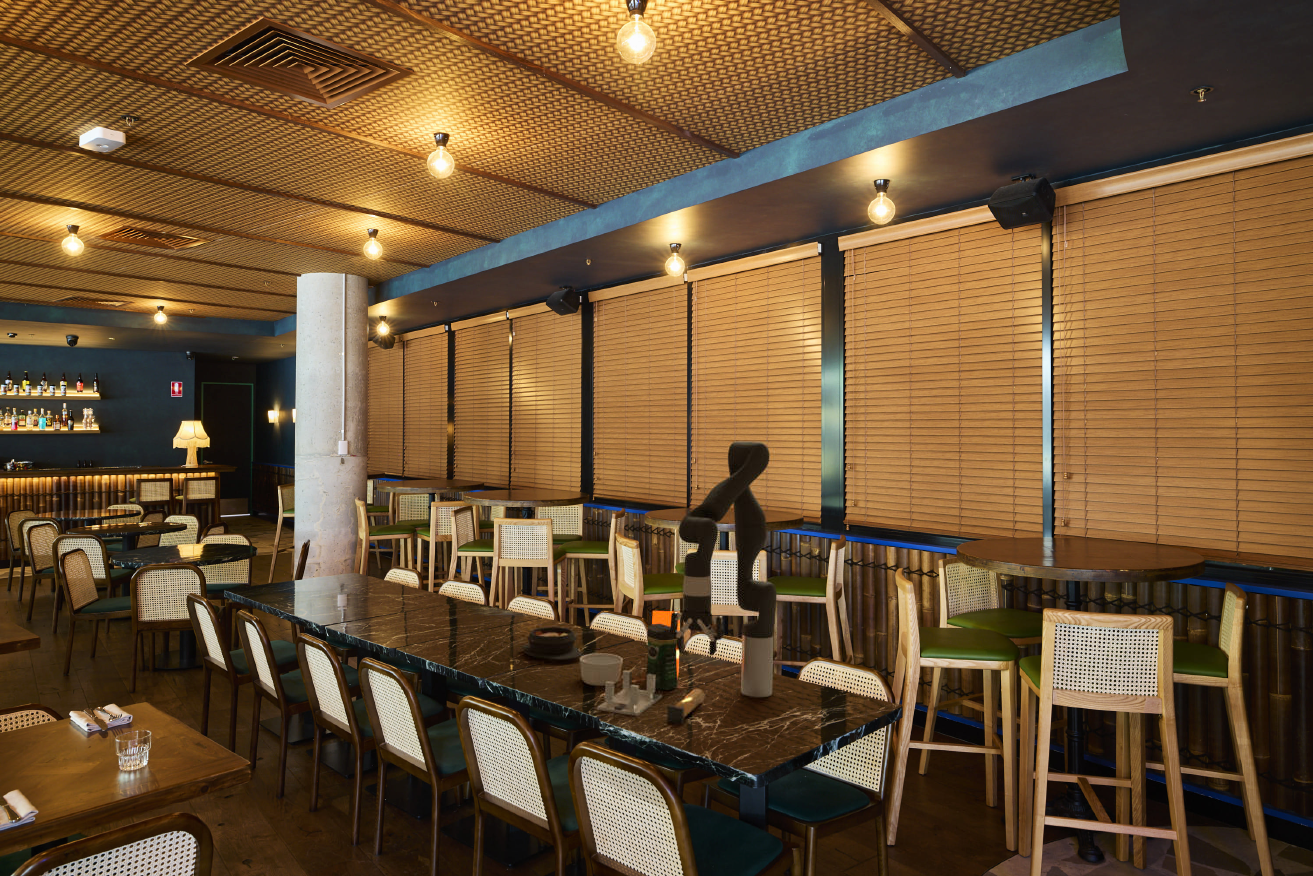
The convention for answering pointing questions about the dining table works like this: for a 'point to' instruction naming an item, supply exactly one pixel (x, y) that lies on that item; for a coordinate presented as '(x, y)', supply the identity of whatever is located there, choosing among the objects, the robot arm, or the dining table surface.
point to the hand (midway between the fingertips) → (696, 653)
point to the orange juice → (665, 619)
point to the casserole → (552, 644)
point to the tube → (684, 706)
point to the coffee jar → (662, 656)
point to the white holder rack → (629, 696)
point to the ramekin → (600, 668)
